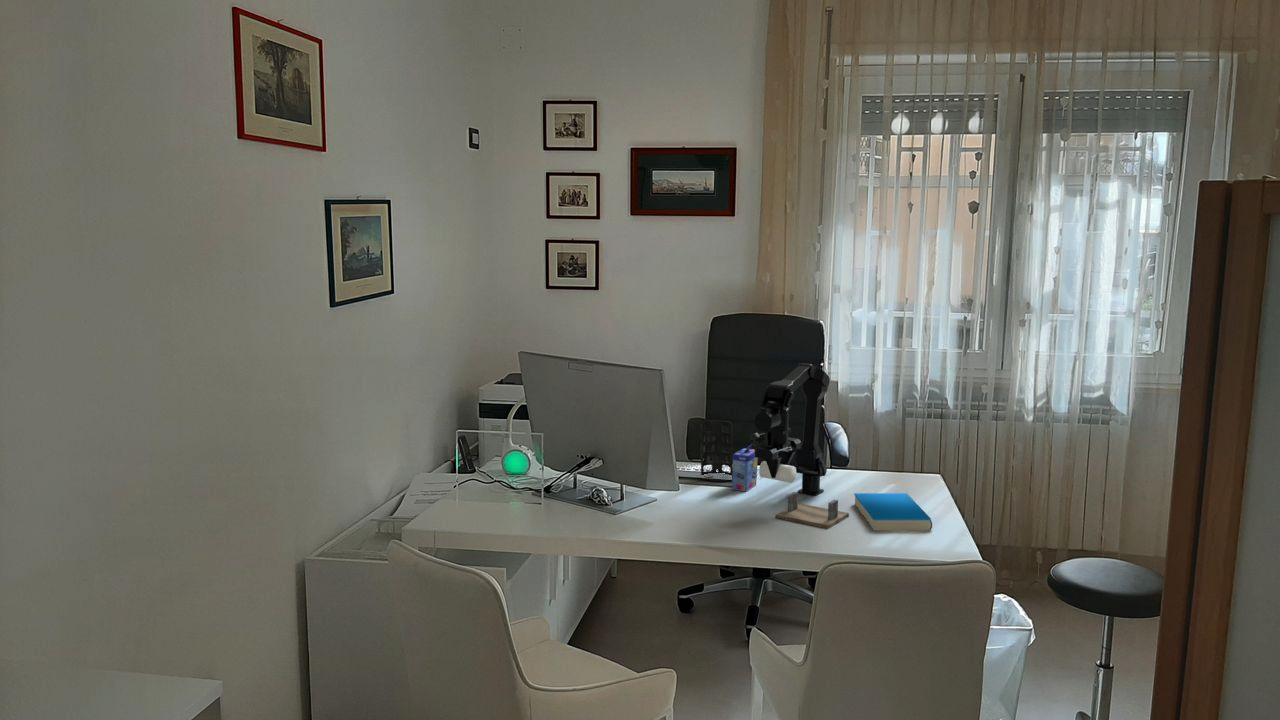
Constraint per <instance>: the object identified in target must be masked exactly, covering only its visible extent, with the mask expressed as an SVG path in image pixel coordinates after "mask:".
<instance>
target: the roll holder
mask: <svg viewBox="0 0 1280 720" xmlns="http://www.w3.org/2000/svg"><path fill="white" fill-rule="evenodd" d="M798 493H799V492H798V491H793V492H791V493H789V494H788V495H787V508H785V509H783V510H781V511H780V512H778V513H776V514H775V518H776V517H777V518H776V519H780V518H781V519H780V520H784V519H787V520H786V521H789V520H790V521H791V522H794V523H801V524H803V523H804V524H805V525H809V526H814V527H818V528H824V529H827V530H828V528H829V529H830V528H832V527H833V526H835V525H837V524H838V523H840V522H842V521H844V520H845V519H846V518H847V519H848V518H849V516H850V513H849V512H845V511H839V499H835V498H834V499H832V500H831V501H829V502H828V505H827V506H828V507H827V508H825V507H819V506H814V505H809V504H804V503H801V502H800V503H799V501H798V495H799V494H798Z"/></svg>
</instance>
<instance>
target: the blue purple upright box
mask: <svg viewBox="0 0 1280 720" xmlns="http://www.w3.org/2000/svg"><path fill="white" fill-rule="evenodd" d="M752 446H753V444H750V445H748V446H747V447H746V448H745V447H744V448H742V449H740V450H738V451H736V452H735V453H734V454H733V453H732V461H733V475H732V480H731V482H732V483H731V486H732V487H731V490H734V491H740V492H744V493H747V492H749V490H751V489H753V488H755V487H756V486H757V482H758V481H757V480H758V479H757V477H758V461H759V460H758V459H759V458H757V457H754V450H755V449H754V448H753V449H752Z"/></svg>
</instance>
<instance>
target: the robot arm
mask: <svg viewBox="0 0 1280 720" xmlns="http://www.w3.org/2000/svg"><path fill="white" fill-rule="evenodd" d="M830 381H831V379H830V377H829V375H828V374H827V372H826V371H824V370H822V369H819V368H817V366H815V365H813V364H811V363H798V364H797V366H796V368H794V369H793V370H792V371H791V372H790V373H788V374H787V375H786V376H785V377H784V378H783V379H781V380H776V381H773V382H770V383H769V384H768V385H767V387H766V389H765V390H764V391H765V392H764V395H763V396H762V397H763V398H762V400H761V404H760V412H758V413H757V414H756V415H755V418H754V425H755V428H756V429H757V430H758V431H759V432H762V433H758V432H754V433H750V434H749V435H750V436H749V443H751V444H750V445H752V446H753V447H754V448H755V449H754V457H757V458H758V459H762V460H764V461H766V462H767V465H768V468H769V471H770V474H771V477H772V478H775V477H776V474H777V471H778V468H779V464H784V465H789V466H790V463H791V461H792V459H793V457H794V455H795V457H794V465H795V466H794V467H795V468H796V474H801V475H802V476H801V478H802V479H801V488H800V489H798V490H797V492H798V493H800V494H805V495H810V496H818V495H819V494H822V493H823V492H824V491H825V490H824V489H822V488H821V477H825V476H826V474H827V471H828V467H827V465H826V463H825V461H824V459H823V451H822V449H821V447H820V445H819V438H820V435H819V434H820V424H821V421H820V420H821V410H822V399H823V398H824V397H825V395H826V394H827V392H828V390H829V389H828V388H829V385H830ZM800 387H801V391H802V393H803V394H804V396H805V409H804V410H805V411H804V422H803V434H802V435H803V437H802V441H801V440H800V438H796V437H795V438H794V437H789V433H791V432H792V429H791V428H789V419H790V418H789V410H791V408H792V406H791V403H792V400H793V399H794V398H795V391H796V390H798V389H799V388H800ZM760 445H762V446H760ZM758 446H759V447H758ZM793 448H794V450H793Z"/></svg>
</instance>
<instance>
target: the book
mask: <svg viewBox="0 0 1280 720" xmlns="http://www.w3.org/2000/svg"><path fill="white" fill-rule="evenodd" d="M853 495H854V505H855V506H856V507H858V508H857V509H858V510H859V512H860V513H861V514H862V516H863V515H864V516H863V517H864V518H866V519H865V521H866V522H869V523H868V524H869V525H870V527H871V528H872V529H873V530H874V531H931V530H932V528H933V521H932V518H931V517H930V516H929V515H928V514H927V513H926V512H925V511H924V510H923V509H922V507H920V505H919V504H917V503H916V501H915V500H914V499H913V498H912V497H911V496H910V495H909V494H908V493H907V492H901V493H899V492H898V493H897V492H896V493H895V492H894V493H893V492H891V493H890V492H889V493H888V492H887V493H886V492H884V493H882V492H881V493H879V492H878V493H877V492H876V493H875V492H872V493H871V492H870V493H869V492H868V493H861V492H860V493H859V492H858V493H857V492H856V493H853Z"/></svg>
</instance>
